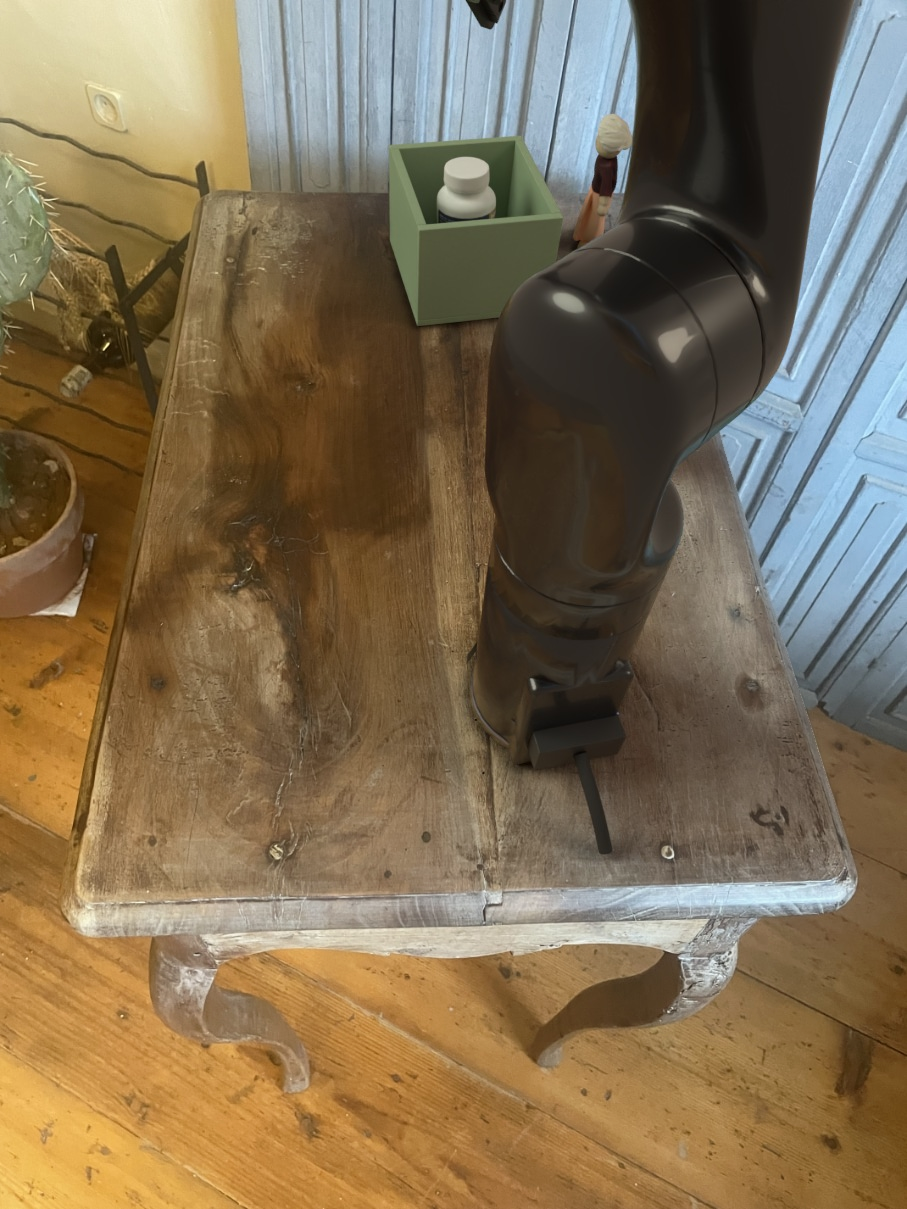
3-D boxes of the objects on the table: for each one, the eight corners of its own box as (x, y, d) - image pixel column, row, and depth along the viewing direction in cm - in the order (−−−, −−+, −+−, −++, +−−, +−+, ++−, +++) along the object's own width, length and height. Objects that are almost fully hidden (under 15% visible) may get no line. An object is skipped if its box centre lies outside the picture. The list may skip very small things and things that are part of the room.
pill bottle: (498, 281, 82) (504, 179, 75) (443, 287, 82) (442, 185, 74) (486, 250, 86) (489, 149, 78) (432, 256, 85) (431, 155, 77)
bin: (548, 312, 82) (563, 217, 74) (417, 326, 80) (418, 230, 72) (510, 229, 89) (521, 135, 81) (389, 240, 87) (388, 144, 79)
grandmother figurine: (566, 223, 90) (587, 96, 80) (602, 223, 90) (628, 96, 80) (576, 268, 86) (600, 139, 75) (614, 268, 86) (644, 140, 76)
